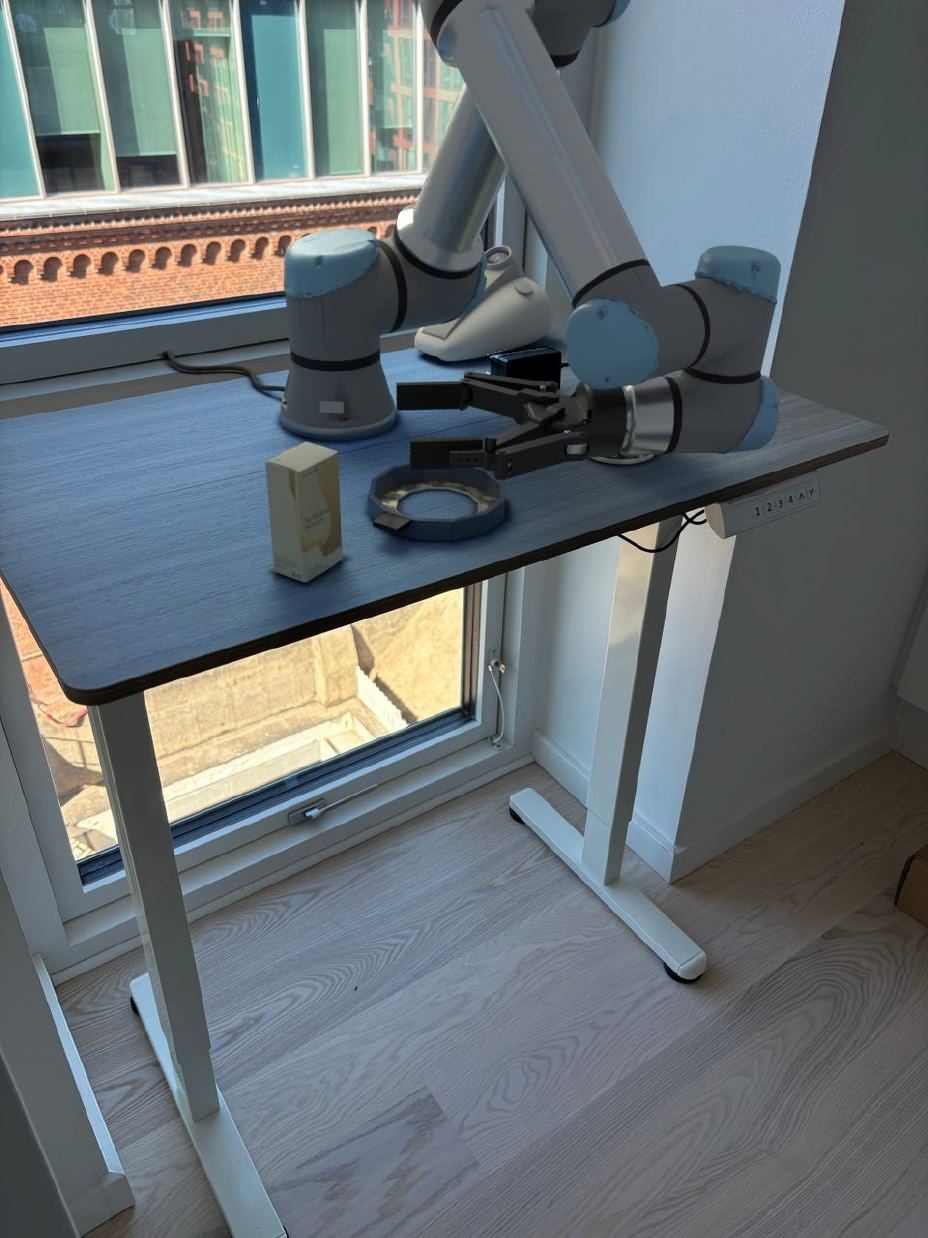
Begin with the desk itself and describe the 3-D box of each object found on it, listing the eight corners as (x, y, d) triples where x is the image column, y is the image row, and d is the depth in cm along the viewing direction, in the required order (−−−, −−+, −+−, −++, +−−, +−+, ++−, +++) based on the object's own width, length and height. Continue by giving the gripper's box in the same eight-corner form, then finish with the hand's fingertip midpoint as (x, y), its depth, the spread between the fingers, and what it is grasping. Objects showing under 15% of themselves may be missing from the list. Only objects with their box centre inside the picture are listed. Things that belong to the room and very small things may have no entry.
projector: (410, 322, 166) (410, 232, 158) (541, 322, 168) (548, 234, 160) (415, 367, 148) (415, 268, 140) (563, 366, 150) (571, 269, 142)
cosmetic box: (305, 585, 96) (297, 473, 89) (272, 572, 98) (261, 461, 91) (345, 558, 101) (340, 449, 94) (313, 546, 102) (305, 438, 96)
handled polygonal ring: (328, 525, 106) (327, 505, 105) (430, 460, 121) (430, 442, 120) (445, 565, 100) (445, 545, 99) (538, 491, 114) (539, 473, 113)
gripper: (651, 511, 87) (416, 521, 84) (583, 404, 107) (392, 409, 104) (663, 433, 83) (416, 441, 80) (590, 337, 103) (391, 341, 100)
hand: (402, 423), depth 92 cm, fingers open, 13 cm apart
